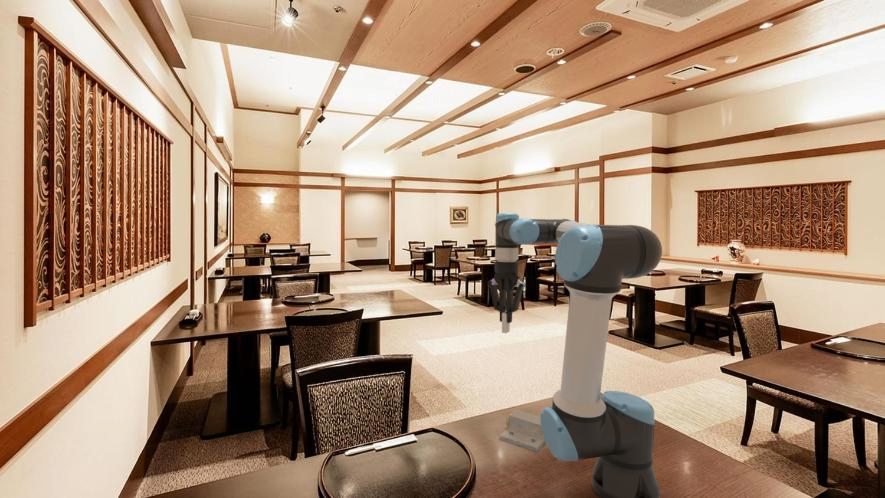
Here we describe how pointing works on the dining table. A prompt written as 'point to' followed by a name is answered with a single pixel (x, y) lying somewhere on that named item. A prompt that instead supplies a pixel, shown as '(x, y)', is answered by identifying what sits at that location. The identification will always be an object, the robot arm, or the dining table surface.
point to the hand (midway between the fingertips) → (505, 331)
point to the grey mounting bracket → (524, 431)
